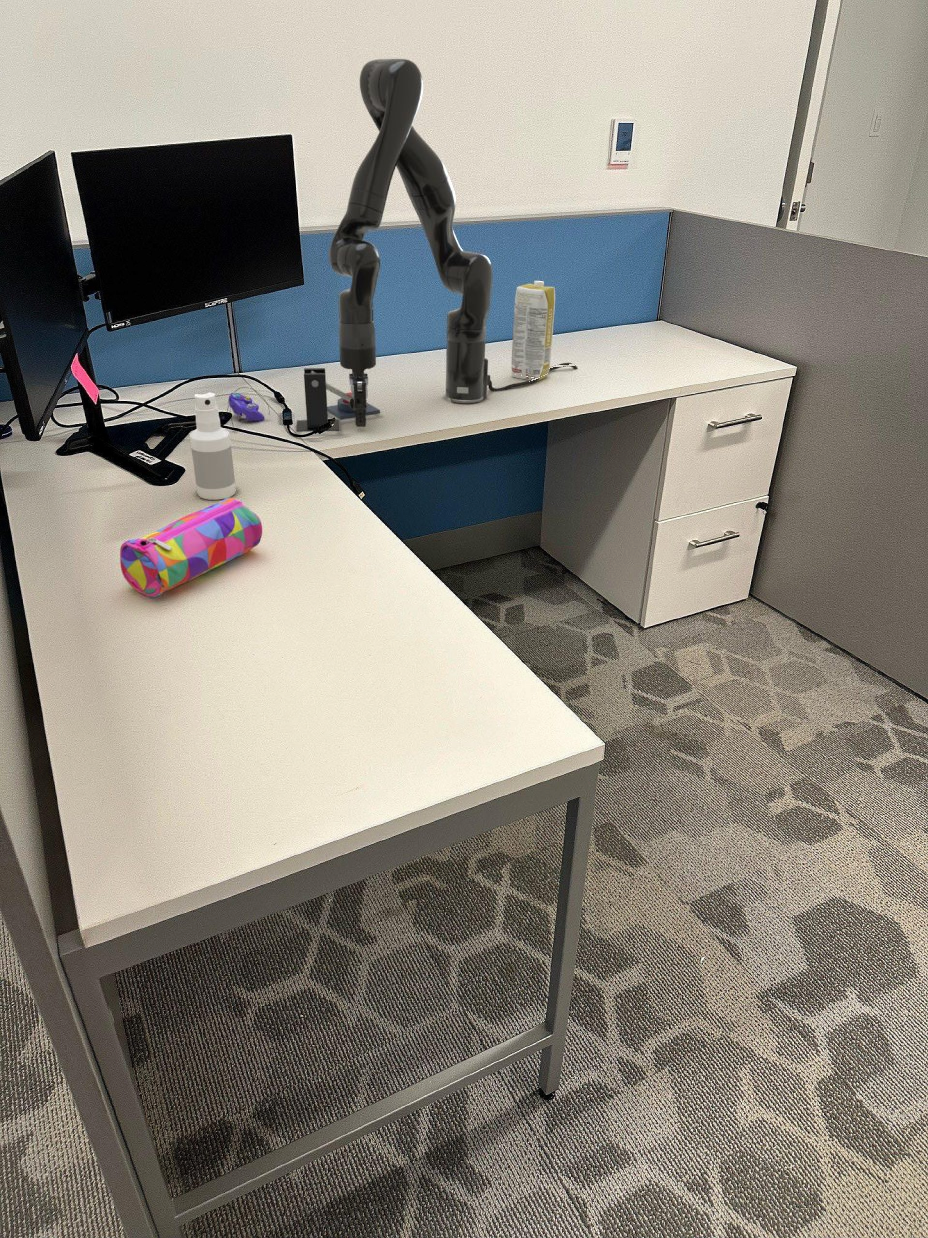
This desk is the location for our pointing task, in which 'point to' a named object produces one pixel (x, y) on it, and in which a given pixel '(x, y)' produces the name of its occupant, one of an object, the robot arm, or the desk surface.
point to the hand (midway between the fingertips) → (360, 420)
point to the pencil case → (189, 547)
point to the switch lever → (342, 394)
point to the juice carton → (532, 330)
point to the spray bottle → (211, 451)
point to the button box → (348, 410)
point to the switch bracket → (315, 402)
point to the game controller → (244, 407)
